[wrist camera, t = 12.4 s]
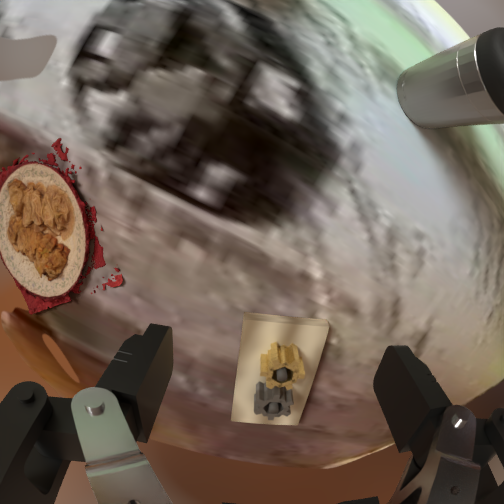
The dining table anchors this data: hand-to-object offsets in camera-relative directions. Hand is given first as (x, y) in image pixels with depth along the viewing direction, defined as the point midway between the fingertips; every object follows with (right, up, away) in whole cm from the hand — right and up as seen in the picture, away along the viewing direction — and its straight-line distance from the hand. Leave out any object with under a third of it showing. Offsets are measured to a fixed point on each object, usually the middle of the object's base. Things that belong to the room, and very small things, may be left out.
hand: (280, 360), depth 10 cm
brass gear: (+3, -12, +31) cm, 33 cm away
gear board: (+3, -16, +34) cm, 38 cm away
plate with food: (-35, +8, +28) cm, 46 cm away
